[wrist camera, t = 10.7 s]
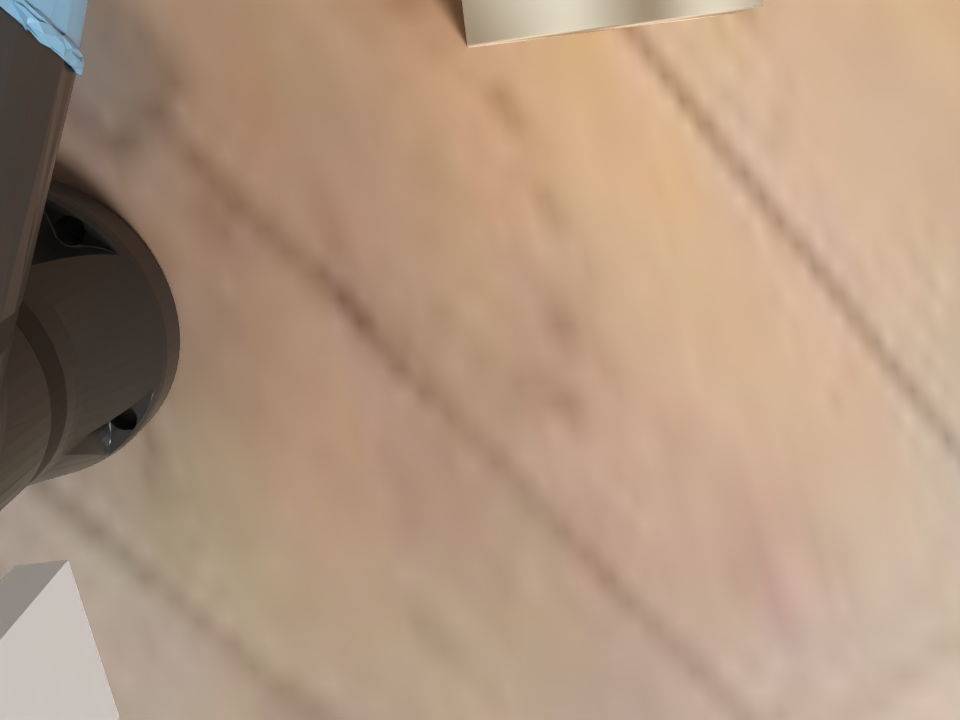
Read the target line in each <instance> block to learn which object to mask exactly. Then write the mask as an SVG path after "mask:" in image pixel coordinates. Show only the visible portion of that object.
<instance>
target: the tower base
mask: <svg viewBox="0 0 960 720" xmlns="http://www.w3.org/2000/svg"><path fill="white" fill-rule="evenodd" d="M462 6H463V15H464V23H465V32H466V40H467V46H468V48H470V47H478V46H486V45H494V44H502V43H510V42H517V41H525V40H533V39H541V38H549V37H557V36H564V35H572V34H580V33H588V32H596V31H604V30H612V29H619V28H627V27H635V26H643V25H651V24H659V23H666V22H674V21H682V20H690V19H698V18H706V17H714V16H721V15H729V14H734V13H738V12H742V11H746V10H749V9H753V8H757V7H761V6H763V0H462Z"/></svg>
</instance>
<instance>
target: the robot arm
mask: <svg viewBox="0 0 960 720" xmlns="http://www.w3.org/2000/svg"><path fill="white" fill-rule="evenodd" d="M87 3H88V0H0V511H1V510H2V509H3V508H4V507H5V506H6V505H7V504H8V503H9V502H10V501H12V500H13V499H14V498H15V497H16V496H17V495H18V494H19V493H20V492H21V491H22V490H23V489H24V488H25V487H26V486H28V485H32V484H35V483H38V482H42V481H45V480H49V479H52V478H55V477H59V476H62V475H66V474H69V473H72V472H76V471H79V470H82V469H85V468H87V467H90V466H92V465H94V464H96V463H98V462H100V461H102V460H104V459H105V458H107V457H109V456H110V455H112V454H114V453H115V452H117V451H118V450H119V449H121V448H122V447H123V446H125V445H126V444H127V443H128V442H129V441H130V440H131V439H132V438H133V437H134V436H135V435H136V434H137V433H138V432H139V431H140V430H141V429H142V428H143V427H144V426H145V425H146V424H147V423H148V422H149V421H150V420H151V418H152V417H153V416H154V415H155V414H156V412H157V411H158V410H159V408H160V407H161V405H162V404H163V402H164V400H165V398H166V397H167V394H168V392H169V390H170V388H171V385H172V383H173V380H174V377H175V373H176V370H177V364H178V359H179V350H180V333H179V323H178V316H177V311H176V306H175V303H174V299H173V296H172V293H171V291H170V288H169V285H168V283H167V281H166V278H165V276H164V274H163V272H162V270H161V269H160V267H159V265H158V263H157V262H156V260H155V258H154V257H153V255H152V254H151V252H150V251H149V250H148V248H147V247H146V245H145V244H144V243H143V242H142V240H141V239H140V238H139V237H138V236H137V235H136V233H135V232H134V231H133V230H132V229H131V228H130V227H129V226H128V225H127V224H126V223H125V222H123V221H122V220H121V219H120V218H119V217H118V216H117V215H115V214H114V213H113V212H112V211H110V210H109V209H108V208H106V207H105V206H104V205H102V204H101V203H99V202H98V201H96V200H94V199H93V198H91V197H89V196H88V195H86V194H84V193H82V192H80V191H78V190H76V189H74V188H72V187H69V186H67V185H65V184H62V183H59V182H56V181H53V180H51V178H52V173H53V169H54V165H55V161H56V156H57V152H58V148H59V144H60V139H61V135H62V131H63V127H64V123H65V118H66V114H67V110H68V106H69V101H70V97H71V93H72V89H73V84H74V80H75V76H76V74H77V75H82V72H83V68H84V65H85V63H84V57H83V55H82V54H81V52H80V50H79V49H80V44H81V38H82V32H83V26H84V21H85V15H86V9H87ZM119 718H120V717H119V714H118V711H117V708H116V705H115V702H114V699H113V696H112V693H111V690H110V687H109V684H108V681H107V678H106V675H105V672H104V669H103V665H102V662H101V659H100V656H99V653H98V650H97V647H96V644H95V641H94V638H93V635H92V632H91V629H90V626H89V623H88V620H87V617H86V613H85V610H84V607H83V604H82V601H81V598H80V595H79V592H78V589H77V586H76V583H75V580H74V577H73V574H72V571H71V568H70V564H69V561H68V560H64V561H55V562H46V563H37V564H29V565H20V566H15V567H14V568H13V569H12V570H11V571H10V572H9V573H8V574H7V575H6V576H5V577H4V578H3V579H2V580H1V581H0V720H118V719H119Z"/></svg>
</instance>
